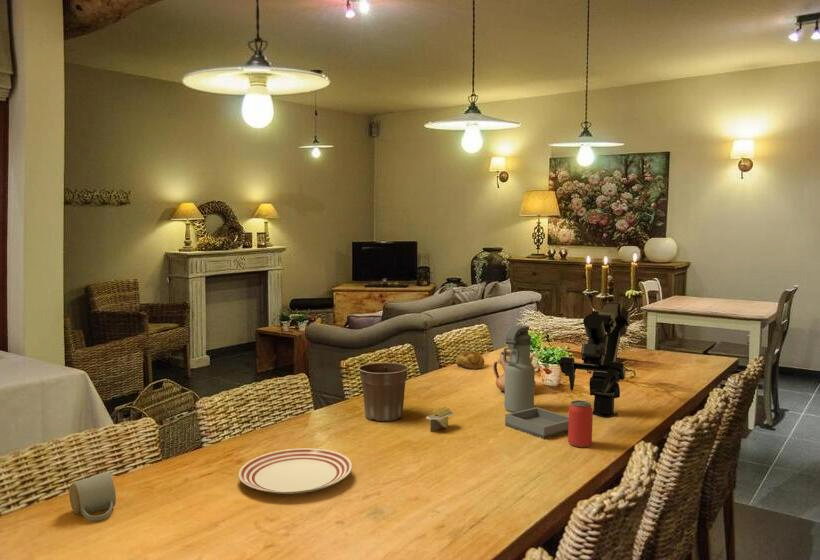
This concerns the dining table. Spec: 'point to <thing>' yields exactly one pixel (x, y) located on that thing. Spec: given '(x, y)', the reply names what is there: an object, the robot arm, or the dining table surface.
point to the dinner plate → (295, 470)
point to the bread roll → (470, 360)
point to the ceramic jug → (501, 380)
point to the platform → (439, 418)
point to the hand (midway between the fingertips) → (587, 392)
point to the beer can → (580, 424)
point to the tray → (538, 422)
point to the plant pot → (383, 390)
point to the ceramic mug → (93, 496)
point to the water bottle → (519, 371)
